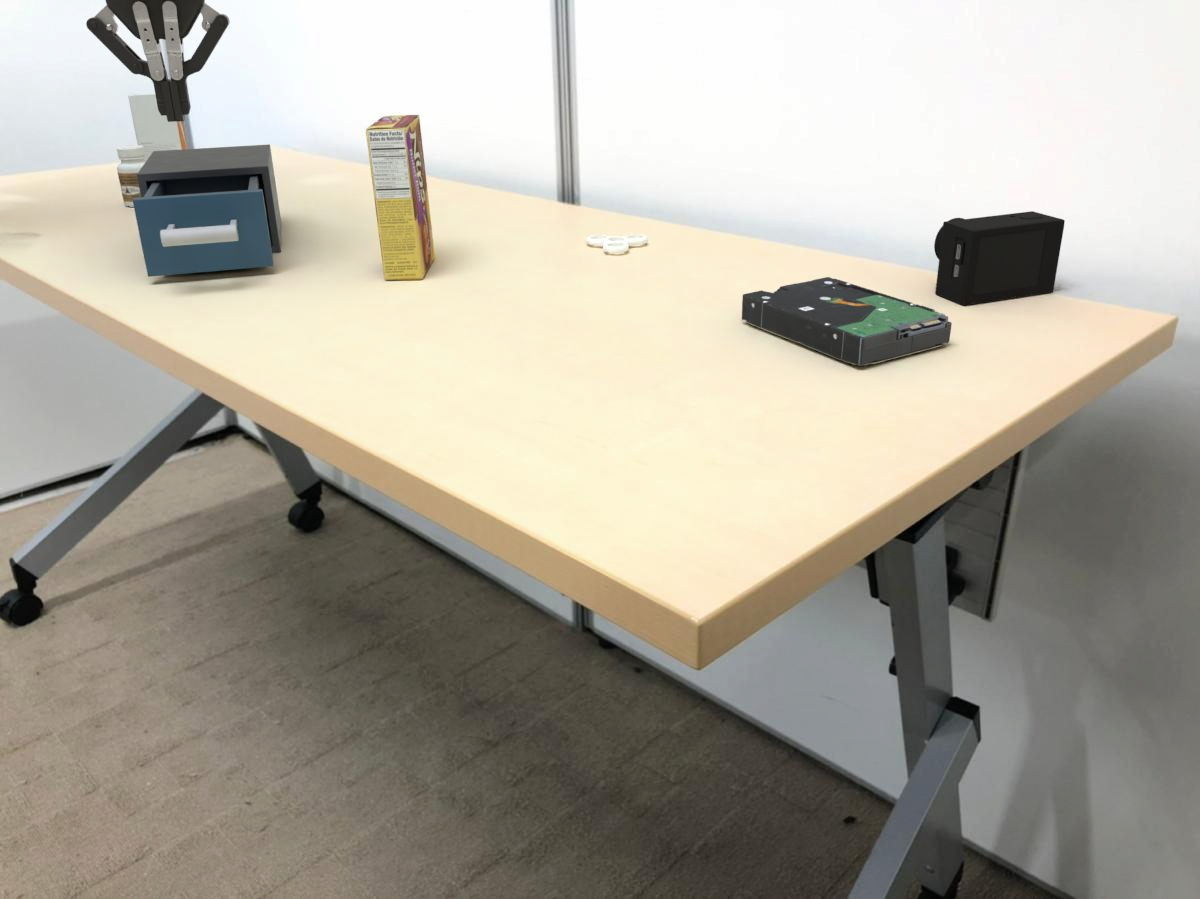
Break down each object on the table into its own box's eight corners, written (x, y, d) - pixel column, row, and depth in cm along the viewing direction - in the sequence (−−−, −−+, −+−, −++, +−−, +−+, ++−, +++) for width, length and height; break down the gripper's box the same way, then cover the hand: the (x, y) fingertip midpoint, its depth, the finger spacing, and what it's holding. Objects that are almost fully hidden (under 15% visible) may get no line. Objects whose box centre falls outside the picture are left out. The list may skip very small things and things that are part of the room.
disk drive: (738, 325, 93) (860, 370, 82) (739, 294, 92) (863, 336, 81) (825, 304, 98) (952, 345, 87) (827, 275, 97) (956, 311, 86)
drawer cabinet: (280, 252, 121) (268, 165, 117) (153, 262, 117) (136, 174, 113) (281, 221, 135) (269, 144, 131) (168, 230, 132) (153, 151, 128)
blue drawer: (272, 280, 106) (261, 202, 103) (141, 291, 103) (124, 211, 100) (274, 234, 125) (264, 166, 122) (163, 242, 122) (149, 173, 119)
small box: (188, 182, 162) (172, 93, 156) (144, 185, 160) (126, 95, 155) (193, 173, 169) (178, 87, 163) (151, 176, 167) (134, 89, 162)
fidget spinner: (581, 242, 121) (581, 235, 121) (631, 235, 124) (631, 228, 124) (610, 255, 116) (610, 248, 115) (661, 247, 118) (661, 240, 118)
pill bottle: (117, 207, 146) (105, 149, 143) (137, 200, 150) (126, 144, 147) (145, 208, 145) (134, 149, 142) (164, 201, 149) (154, 144, 146)
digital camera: (1014, 278, 105) (1024, 207, 102) (1054, 292, 100) (1066, 218, 97) (926, 291, 101) (934, 218, 98) (963, 306, 97) (973, 230, 94)
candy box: (396, 259, 117) (382, 114, 110) (435, 258, 116) (423, 113, 110) (380, 281, 108) (364, 126, 102) (422, 280, 108) (408, 125, 102)
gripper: (221, -79, 100) (249, 113, 107) (70, -79, 97) (108, 118, 104) (216, -82, 93) (246, 122, 101) (54, -82, 90) (96, 129, 98)
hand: (176, 120), depth 102 cm, fingers closed
